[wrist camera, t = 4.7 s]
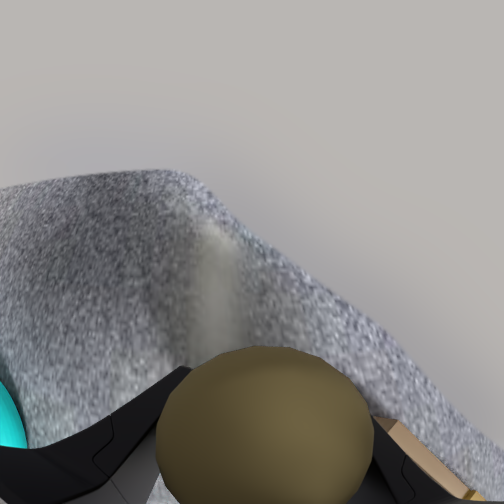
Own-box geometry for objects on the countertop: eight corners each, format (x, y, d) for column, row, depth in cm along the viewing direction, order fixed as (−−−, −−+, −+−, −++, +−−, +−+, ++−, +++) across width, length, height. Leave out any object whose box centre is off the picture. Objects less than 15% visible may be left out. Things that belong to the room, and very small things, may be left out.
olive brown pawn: (307, 448, 13) (413, 526, 3) (202, 459, 12) (146, 566, 2) (296, 352, 15) (394, 296, 5) (191, 361, 15) (106, 321, 5)
